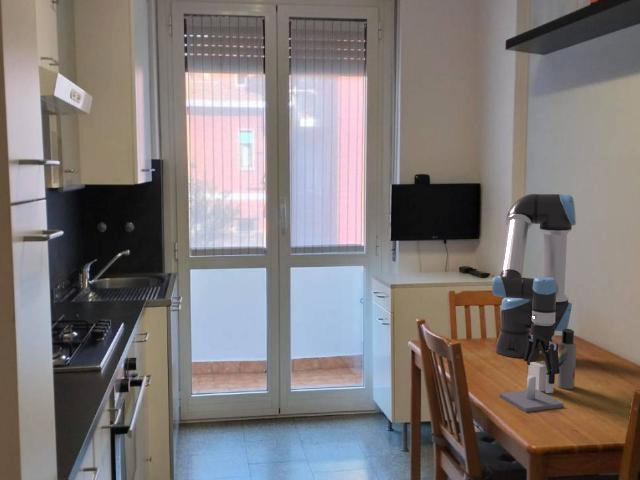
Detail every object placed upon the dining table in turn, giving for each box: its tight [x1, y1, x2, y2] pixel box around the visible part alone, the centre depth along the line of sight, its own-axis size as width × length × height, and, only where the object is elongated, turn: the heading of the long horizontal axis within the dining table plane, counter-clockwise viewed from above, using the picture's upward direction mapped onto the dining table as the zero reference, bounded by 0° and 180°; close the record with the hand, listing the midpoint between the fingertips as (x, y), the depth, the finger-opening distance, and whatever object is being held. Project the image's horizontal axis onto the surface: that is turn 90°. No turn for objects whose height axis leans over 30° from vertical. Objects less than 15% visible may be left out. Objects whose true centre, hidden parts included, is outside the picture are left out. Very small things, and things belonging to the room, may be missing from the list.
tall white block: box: [530, 360, 548, 392], centre depth 222 cm, size 5×5×9 cm
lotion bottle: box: [556, 328, 577, 390], centre depth 224 cm, size 6×6×20 cm
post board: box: [499, 375, 564, 413], centre depth 209 cm, size 14×14×8 cm
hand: (540, 387), depth 223 cm, fingers open, 9 cm apart
